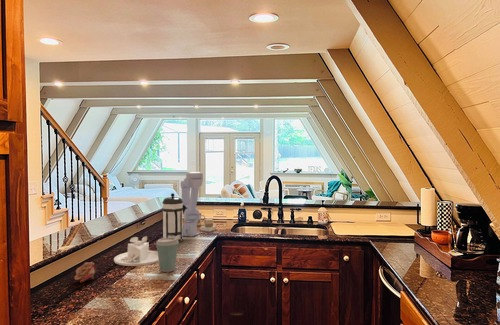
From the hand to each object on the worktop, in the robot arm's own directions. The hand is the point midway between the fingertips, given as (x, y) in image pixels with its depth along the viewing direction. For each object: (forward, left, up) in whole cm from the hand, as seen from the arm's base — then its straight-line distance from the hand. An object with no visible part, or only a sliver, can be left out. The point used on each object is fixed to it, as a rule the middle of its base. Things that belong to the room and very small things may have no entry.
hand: (185, 216), depth 265 cm
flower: (-104, -23, -10) cm, 107 cm away
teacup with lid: (+20, +4, -10) cm, 23 cm away
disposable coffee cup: (-76, -45, -10) cm, 89 cm away
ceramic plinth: (+8, -14, -10) cm, 19 cm away
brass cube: (+8, -14, -7) cm, 18 cm away
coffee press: (-30, -13, -10) cm, 34 cm away
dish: (-68, -20, -10) cm, 72 cm away
